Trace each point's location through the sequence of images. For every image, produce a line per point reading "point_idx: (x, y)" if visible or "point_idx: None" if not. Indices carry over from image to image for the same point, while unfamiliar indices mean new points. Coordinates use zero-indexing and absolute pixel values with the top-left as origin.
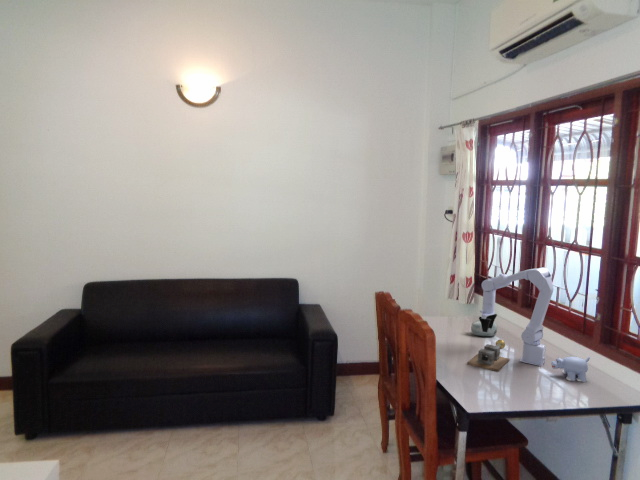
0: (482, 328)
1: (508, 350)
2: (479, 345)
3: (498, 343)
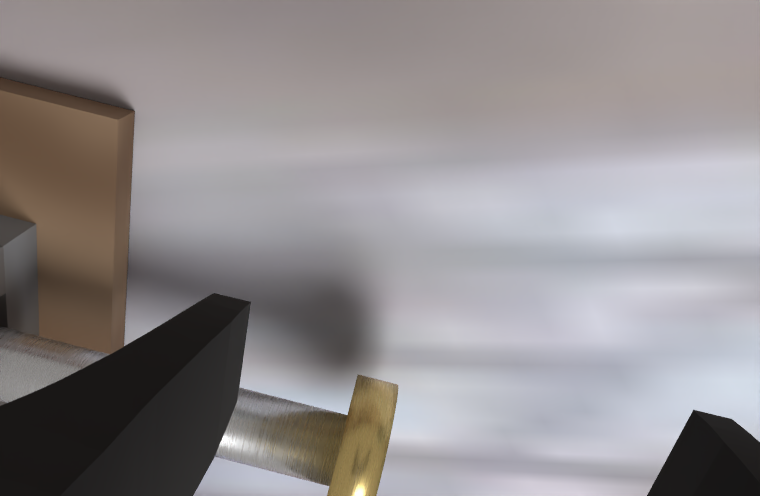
0: (151, 338)
1: (510, 464)
2: (604, 69)
3: (278, 451)
